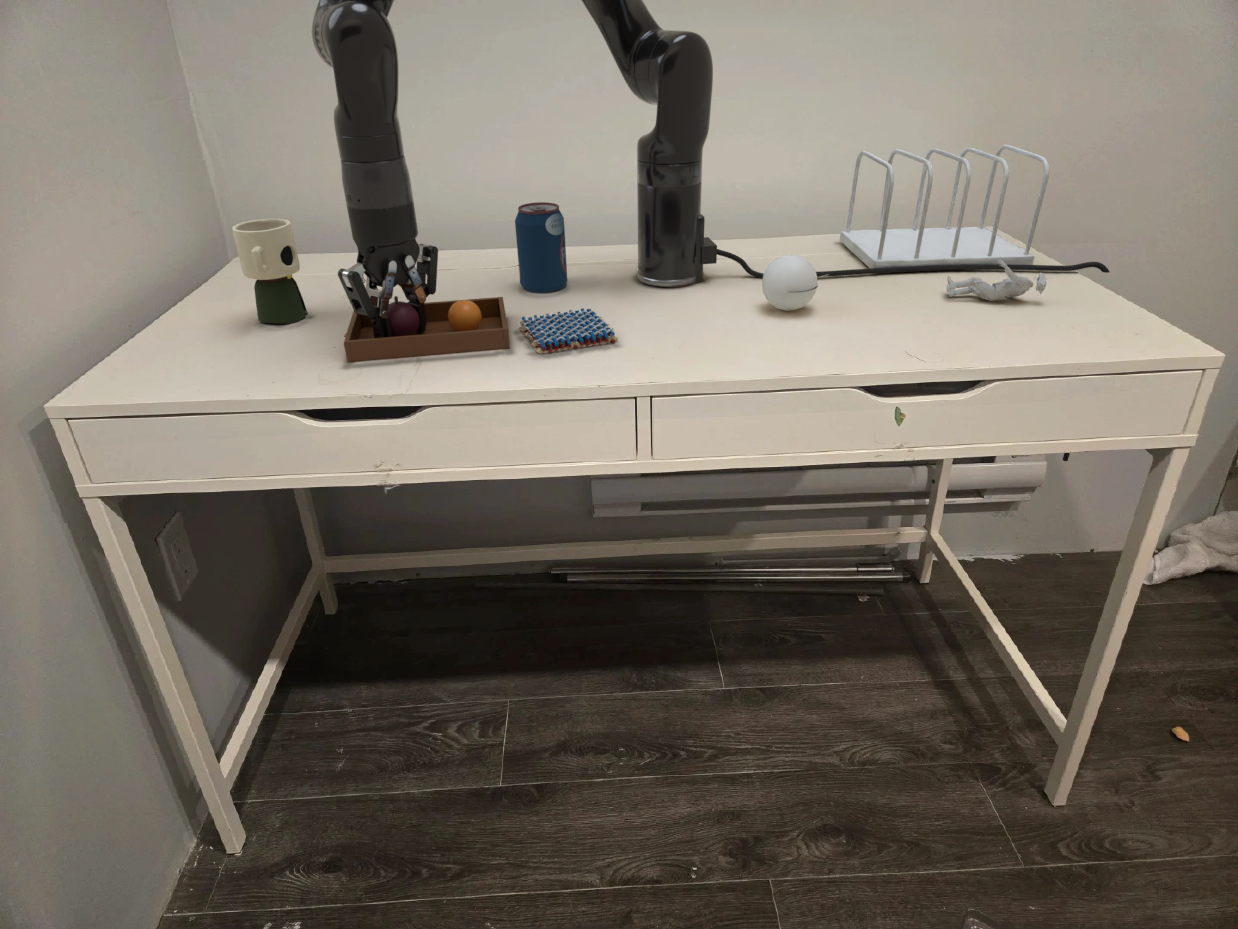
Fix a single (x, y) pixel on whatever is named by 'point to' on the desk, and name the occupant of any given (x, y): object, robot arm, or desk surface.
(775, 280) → the seamed sphere
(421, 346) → the tray
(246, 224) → the character mug
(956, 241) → the file sorter
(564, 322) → the woven mat
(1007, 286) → the soldier figure
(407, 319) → the plum
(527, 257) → the soda can
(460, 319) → the apricot
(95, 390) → the desk surface
